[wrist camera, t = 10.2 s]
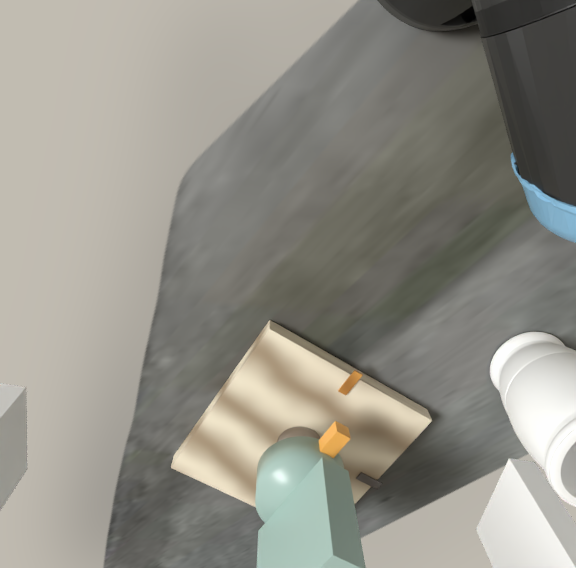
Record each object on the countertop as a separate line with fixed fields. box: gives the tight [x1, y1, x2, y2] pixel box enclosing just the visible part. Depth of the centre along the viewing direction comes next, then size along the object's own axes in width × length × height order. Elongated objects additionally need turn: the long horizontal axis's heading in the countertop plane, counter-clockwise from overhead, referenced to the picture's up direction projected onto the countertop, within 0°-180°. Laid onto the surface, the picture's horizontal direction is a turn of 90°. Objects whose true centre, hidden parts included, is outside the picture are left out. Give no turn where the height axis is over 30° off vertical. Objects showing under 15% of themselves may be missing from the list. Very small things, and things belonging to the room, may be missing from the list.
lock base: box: [171, 320, 432, 507], centre depth 53 cm, size 22×22×6 cm
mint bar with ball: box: [255, 421, 365, 568], centre depth 44 cm, size 9×13×14 cm
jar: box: [490, 332, 576, 507], centre depth 46 cm, size 11×10×15 cm
